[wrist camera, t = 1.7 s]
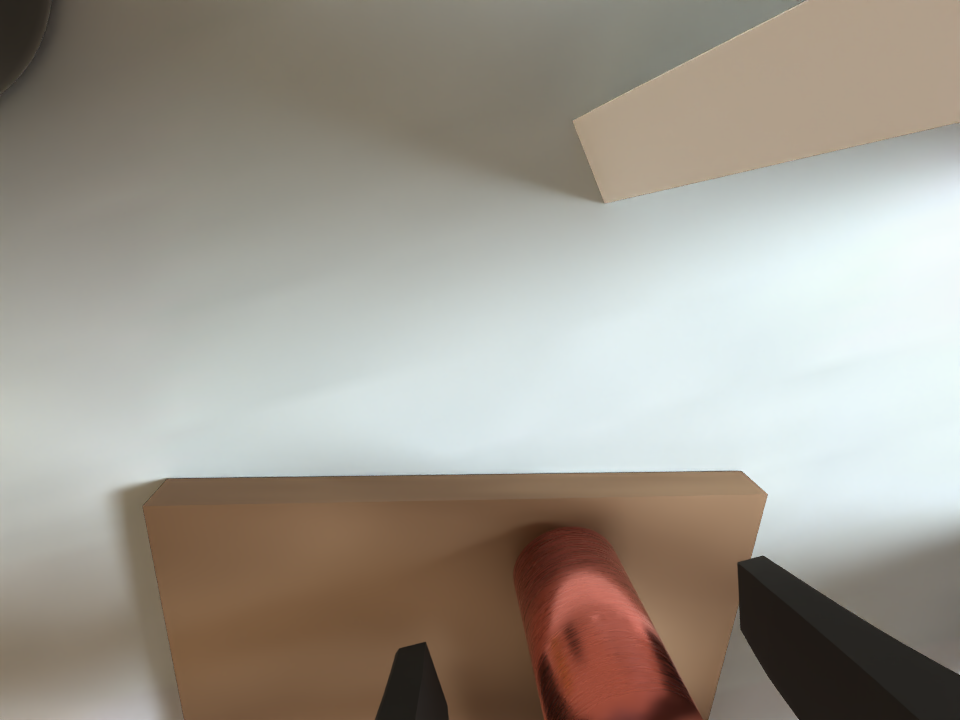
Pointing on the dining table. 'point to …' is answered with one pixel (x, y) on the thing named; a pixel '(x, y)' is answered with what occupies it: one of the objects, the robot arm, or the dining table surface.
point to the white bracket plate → (782, 95)
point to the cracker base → (423, 582)
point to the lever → (593, 634)
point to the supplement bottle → (20, 36)
